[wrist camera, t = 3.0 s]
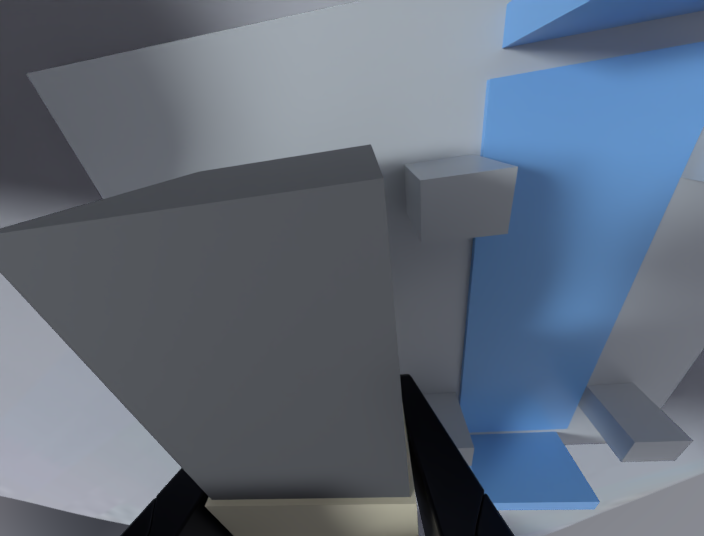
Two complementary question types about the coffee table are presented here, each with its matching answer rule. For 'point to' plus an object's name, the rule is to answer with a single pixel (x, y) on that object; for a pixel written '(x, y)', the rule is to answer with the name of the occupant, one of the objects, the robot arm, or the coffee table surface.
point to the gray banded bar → (244, 334)
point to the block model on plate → (469, 197)
